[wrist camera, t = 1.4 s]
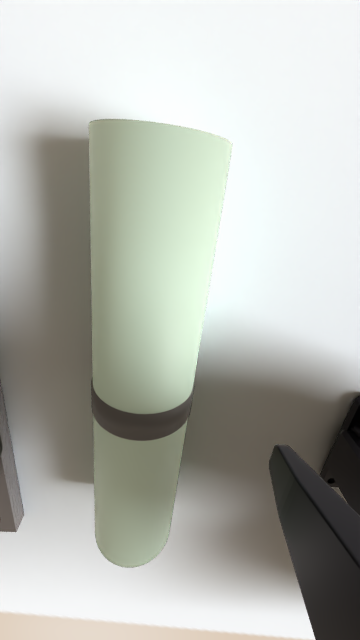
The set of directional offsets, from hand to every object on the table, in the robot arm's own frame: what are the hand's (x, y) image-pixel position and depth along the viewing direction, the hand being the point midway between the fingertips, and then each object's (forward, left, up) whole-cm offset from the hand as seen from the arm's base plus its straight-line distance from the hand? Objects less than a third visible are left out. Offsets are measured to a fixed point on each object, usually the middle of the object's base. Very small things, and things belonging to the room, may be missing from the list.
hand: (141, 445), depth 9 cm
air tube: (0, 0, -3) cm, 3 cm away
